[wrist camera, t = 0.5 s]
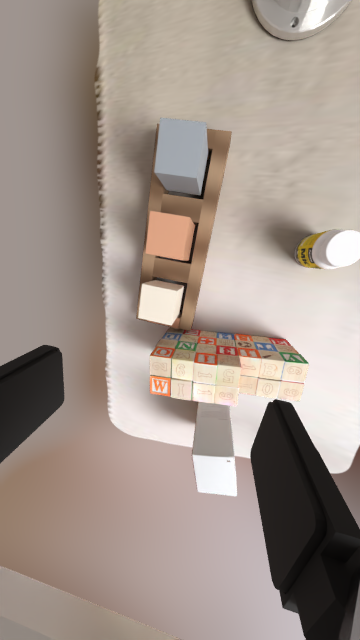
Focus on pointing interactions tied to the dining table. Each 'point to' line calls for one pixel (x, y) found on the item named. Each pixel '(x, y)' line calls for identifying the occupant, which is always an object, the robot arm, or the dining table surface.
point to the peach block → (169, 235)
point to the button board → (201, 217)
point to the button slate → (181, 155)
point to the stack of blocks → (225, 367)
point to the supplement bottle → (329, 249)
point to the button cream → (160, 301)
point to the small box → (214, 450)
